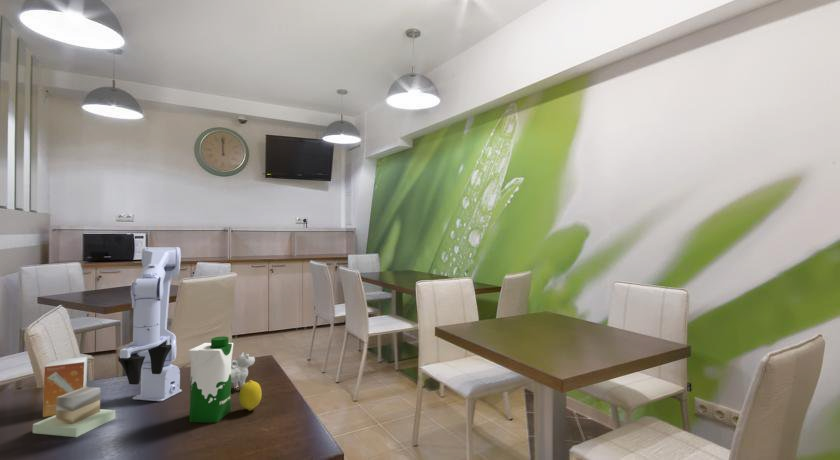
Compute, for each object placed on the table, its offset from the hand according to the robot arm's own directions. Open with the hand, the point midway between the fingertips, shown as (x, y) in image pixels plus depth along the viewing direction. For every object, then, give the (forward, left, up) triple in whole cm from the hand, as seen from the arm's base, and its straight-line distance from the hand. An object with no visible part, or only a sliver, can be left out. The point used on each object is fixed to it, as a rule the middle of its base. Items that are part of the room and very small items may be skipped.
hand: (145, 378), depth 104 cm
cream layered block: (+13, +6, -8) cm, 16 cm away
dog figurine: (-11, -21, -10) cm, 25 cm away
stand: (+13, +6, -10) cm, 18 cm away
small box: (+25, -1, -10) cm, 27 cm away
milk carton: (-16, -4, -10) cm, 19 cm away
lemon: (-24, -9, -10) cm, 27 cm away
